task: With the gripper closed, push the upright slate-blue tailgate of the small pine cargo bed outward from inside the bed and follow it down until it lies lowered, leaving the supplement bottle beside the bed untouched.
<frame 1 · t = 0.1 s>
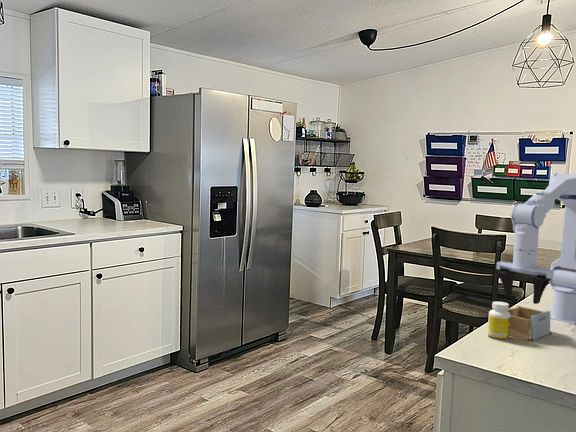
hand: (522, 300, 140), 10 cm above the counter, tool pointing down, fingers open, 7 cm apart
cargo bed: (521, 334, 143), on the counter
supplement bottle: (498, 340, 139), on the counter
tailgate: (540, 324, 139), point 4 cm above the counter, hinge at -3.0°
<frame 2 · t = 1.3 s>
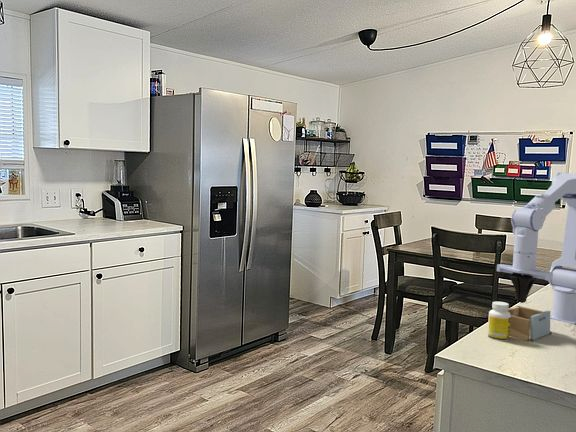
hand: (521, 301, 143), 9 cm above the counter, tool pointing down, fingers closed
nothing on the counter moved.
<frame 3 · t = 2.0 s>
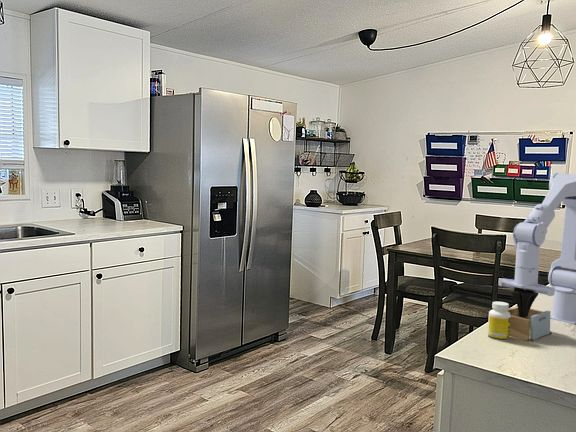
hand: (523, 316, 143), 5 cm above the counter, tool pointing down, fingers closed
nothing on the counter moved.
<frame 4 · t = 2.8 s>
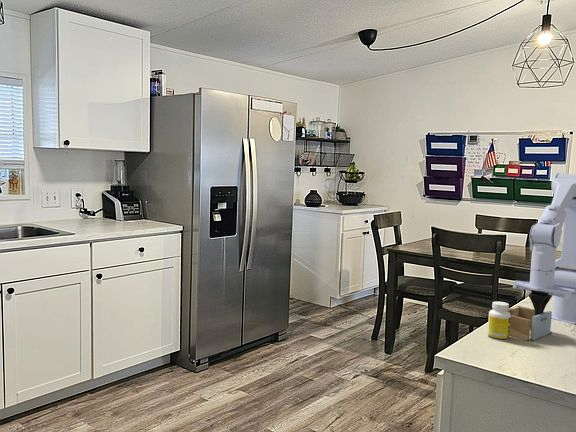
hand: (538, 319, 140), 5 cm above the counter, tool pointing down, fingers closed, pressing on tailgate
tailgate: (541, 325, 139), point 4 cm above the counter, hinge at 1.0°, touching gripper
everything else where it was.
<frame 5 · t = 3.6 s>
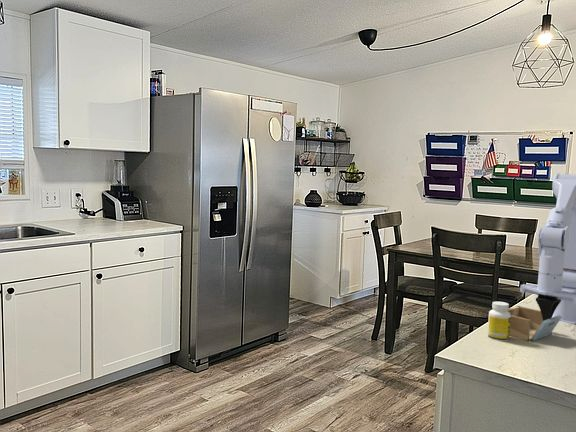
hand: (546, 324, 138), 4 cm above the counter, tool pointing down, fingers closed, pressing on tailgate
tailgate: (547, 327, 138), point 3 cm above the counter, hinge at 26.8°, touching gripper
everything else where it was.
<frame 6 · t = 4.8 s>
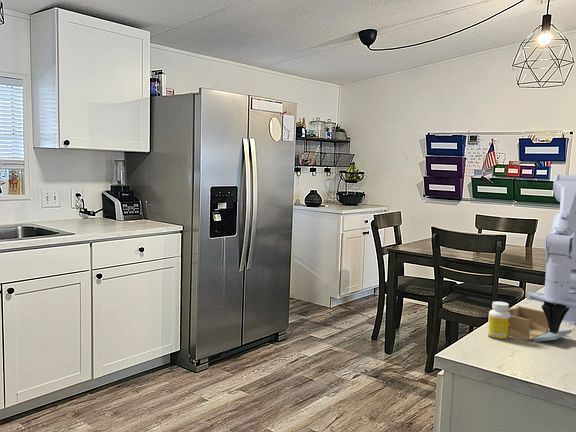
hand: (553, 332, 137), 3 cm above the counter, tool pointing down, fingers closed
tailgate: (552, 336, 137), point 2 cm above the counter, hinge at 67.9°
everything else where it was.
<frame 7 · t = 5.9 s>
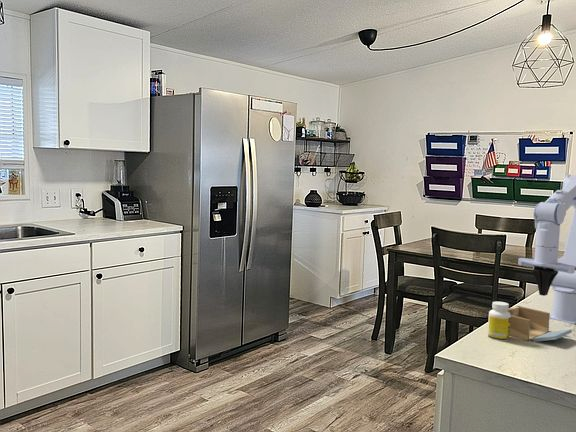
hand: (543, 294, 145), 10 cm above the counter, tool pointing down, fingers closed
nothing on the counter moved.
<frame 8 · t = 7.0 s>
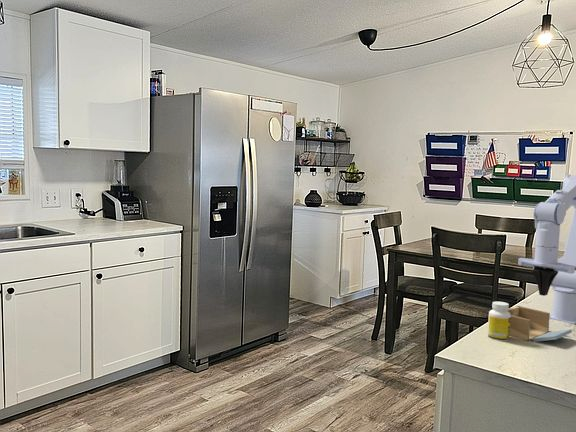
hand: (543, 294, 145), 10 cm above the counter, tool pointing down, fingers closed
nothing on the counter moved.
at the end: tailgate at +68° (first picture: -3°); supplement bottle moved 0.2 cm from its start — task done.
